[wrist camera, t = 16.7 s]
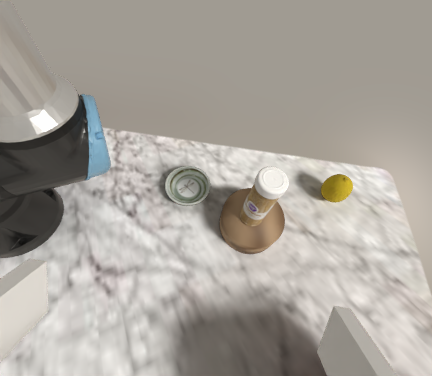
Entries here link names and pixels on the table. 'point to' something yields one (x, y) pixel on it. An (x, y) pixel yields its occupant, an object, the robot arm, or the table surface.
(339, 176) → the lemon
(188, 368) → the table surface
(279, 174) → the sprinkles bottle
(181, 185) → the saucer
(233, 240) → the walnut pedestal
